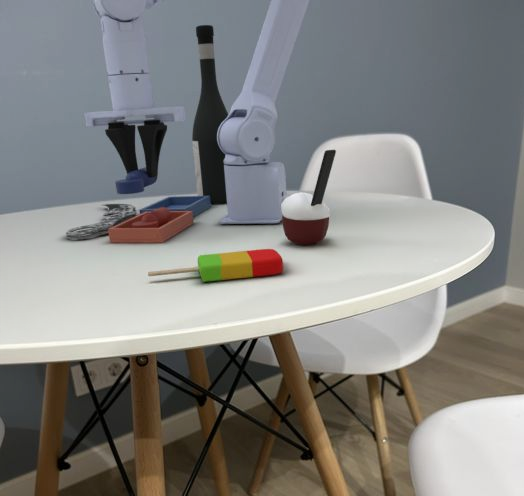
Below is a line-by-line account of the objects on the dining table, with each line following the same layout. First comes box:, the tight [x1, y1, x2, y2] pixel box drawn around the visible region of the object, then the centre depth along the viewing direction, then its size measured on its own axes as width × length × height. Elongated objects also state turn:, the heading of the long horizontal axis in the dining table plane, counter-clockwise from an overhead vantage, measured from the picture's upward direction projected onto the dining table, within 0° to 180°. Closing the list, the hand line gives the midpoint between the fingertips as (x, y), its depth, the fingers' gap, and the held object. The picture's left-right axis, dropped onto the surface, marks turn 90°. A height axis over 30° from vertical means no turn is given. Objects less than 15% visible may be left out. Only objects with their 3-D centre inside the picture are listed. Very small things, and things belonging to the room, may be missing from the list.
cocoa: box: [281, 149, 337, 246], centre depth 75 cm, size 10×6×12 cm, turn 9°
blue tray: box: [138, 195, 212, 218], centre depth 103 cm, size 8×13×2 cm, turn 167°
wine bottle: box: [191, 24, 229, 205], centre depth 107 cm, size 8×8×30 cm
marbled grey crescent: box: [65, 203, 137, 241], centre depth 100 cm, size 28×2×10 cm
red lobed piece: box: [132, 207, 171, 228], centre depth 89 cm, size 10×4×3 cm, turn 167°
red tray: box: [108, 211, 194, 244], centre depth 89 cm, size 8×13×2 cm, turn 167°
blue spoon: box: [114, 166, 158, 195], centre depth 84 cm, size 10×4×3 cm, turn 167°
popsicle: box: [147, 248, 284, 283], centre depth 65 cm, size 6×15×2 cm, turn 100°
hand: (143, 177), depth 85 cm, fingers closed on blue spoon, 2 cm apart
